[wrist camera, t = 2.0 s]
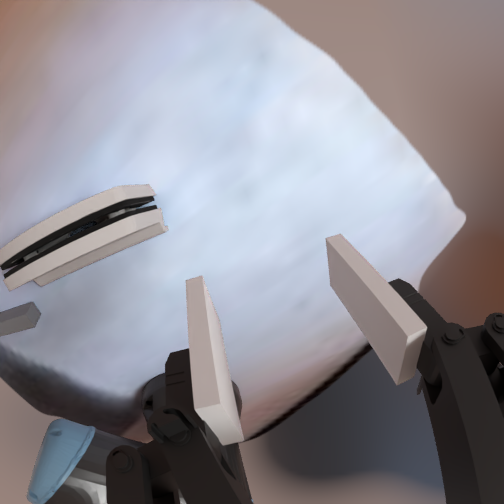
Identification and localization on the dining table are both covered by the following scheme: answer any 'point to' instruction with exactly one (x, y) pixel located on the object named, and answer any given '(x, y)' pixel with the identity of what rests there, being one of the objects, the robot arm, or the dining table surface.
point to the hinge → (82, 235)
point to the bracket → (18, 319)
